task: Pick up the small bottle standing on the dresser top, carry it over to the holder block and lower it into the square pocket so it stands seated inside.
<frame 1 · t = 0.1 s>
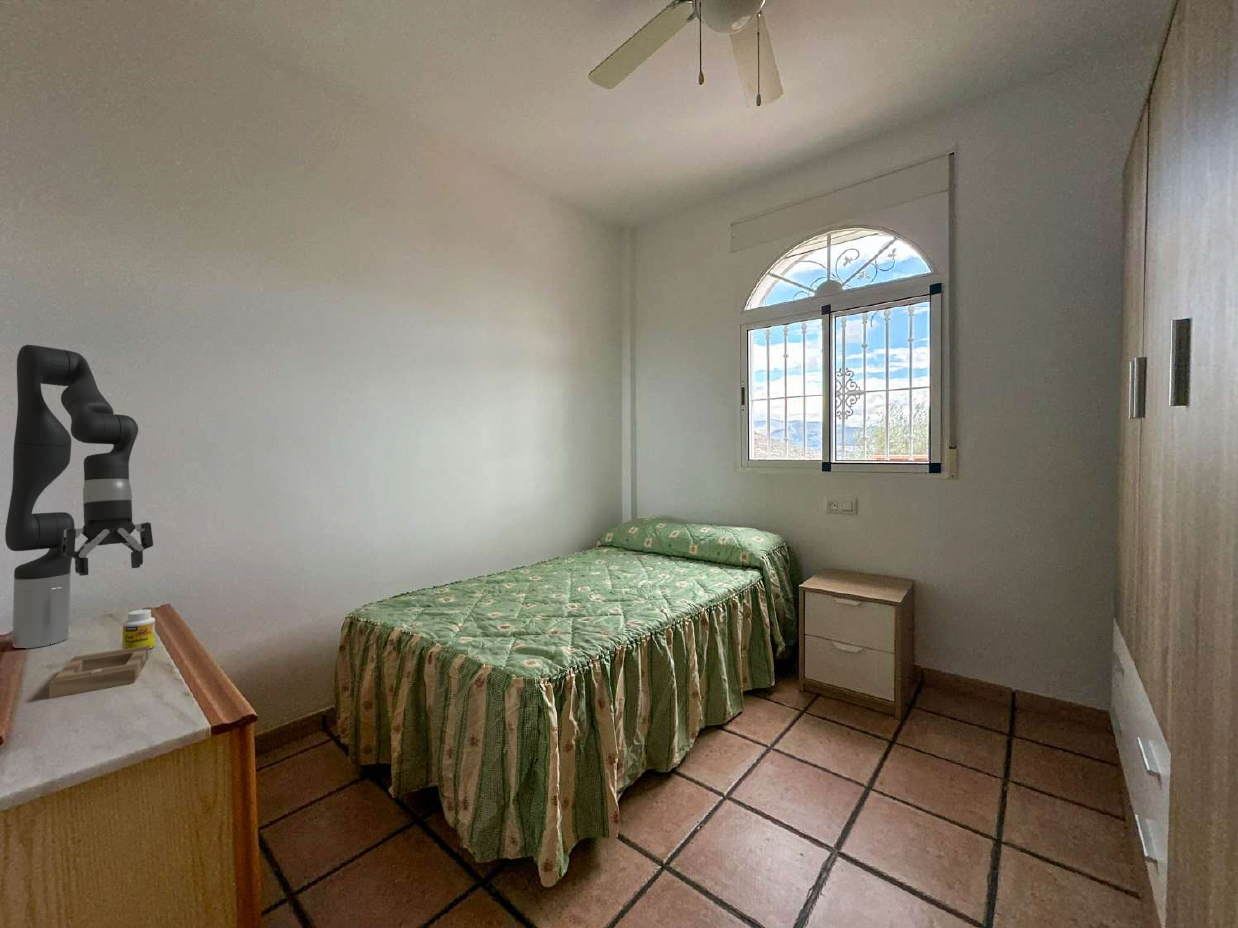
hand: (110, 571, 107), 22 cm above the dresser top, tool pointing down, fingers open, 8 cm apart
holder block: (103, 675, 104), on the dresser top
supplement bottle: (138, 653, 117), on the dresser top
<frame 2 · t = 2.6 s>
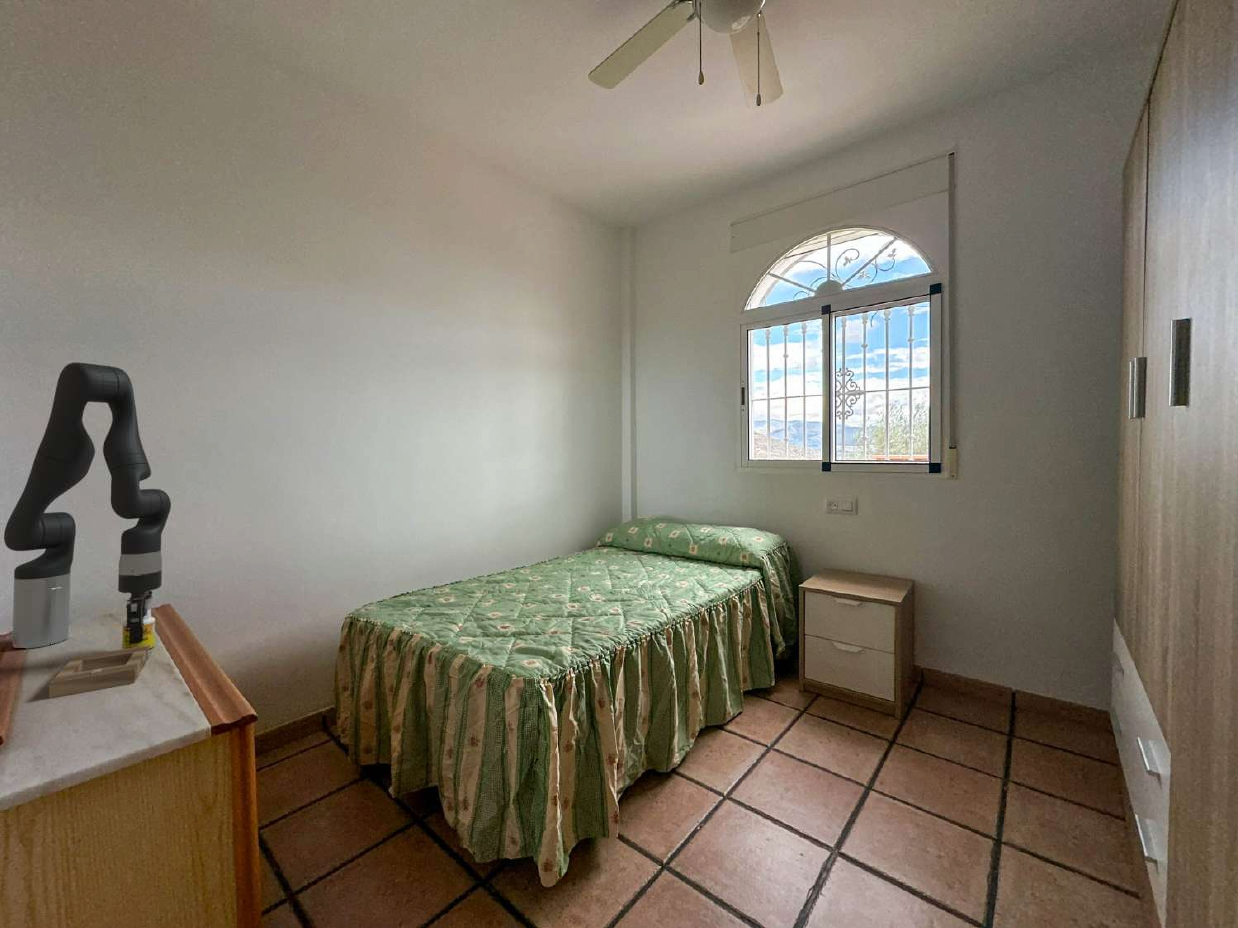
hand: (138, 638, 117), 4 cm above the dresser top, tool pointing down, fingers closed on supplement bottle, 5 cm apart
supplement bottle: (138, 653, 117), on the dresser top, touching gripper
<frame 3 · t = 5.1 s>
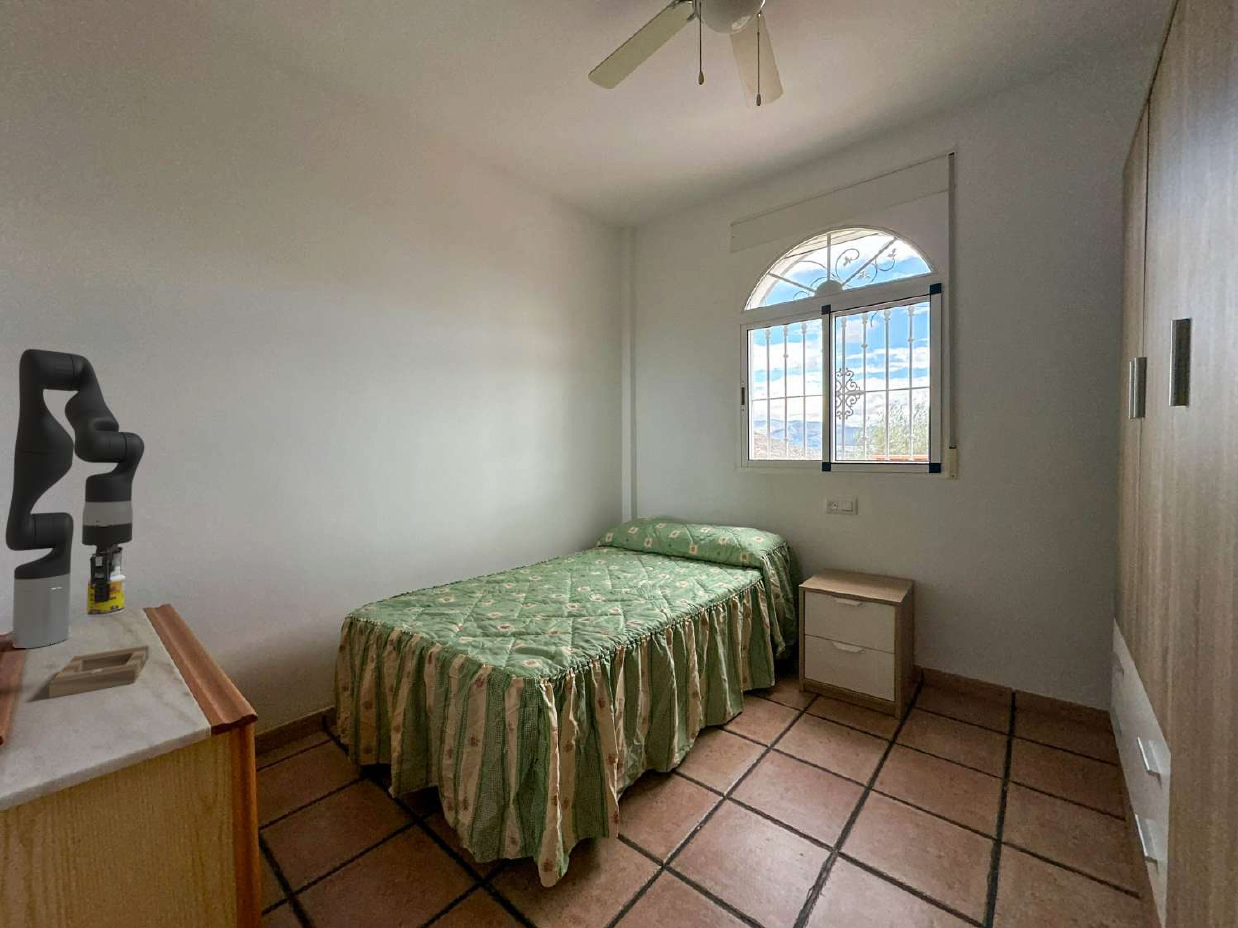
hand: (105, 598, 104), 17 cm above the dresser top, tool pointing down, fingers closed on supplement bottle, 5 cm apart
supplement bottle: (105, 615, 104), point 13 cm above the dresser top, touching gripper
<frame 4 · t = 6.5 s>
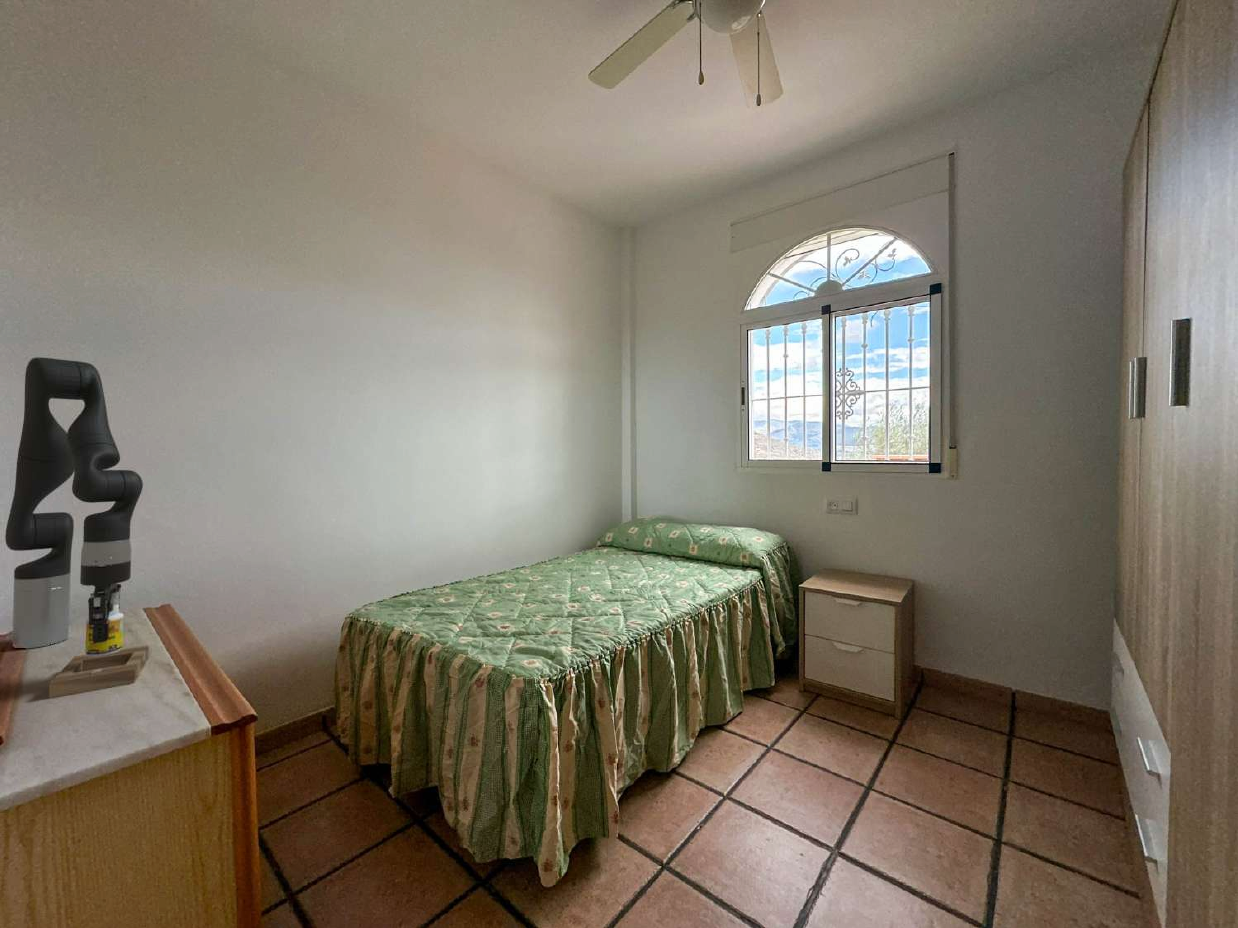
hand: (104, 637, 104), 9 cm above the dresser top, tool pointing down, fingers closed on supplement bottle, 5 cm apart
supplement bottle: (104, 654, 104), point 5 cm above the dresser top, touching gripper
when the fingers open (5 cm above the dresser top, at t = 7.7 s): supplement bottle drops 1 cm, resting in holder block.
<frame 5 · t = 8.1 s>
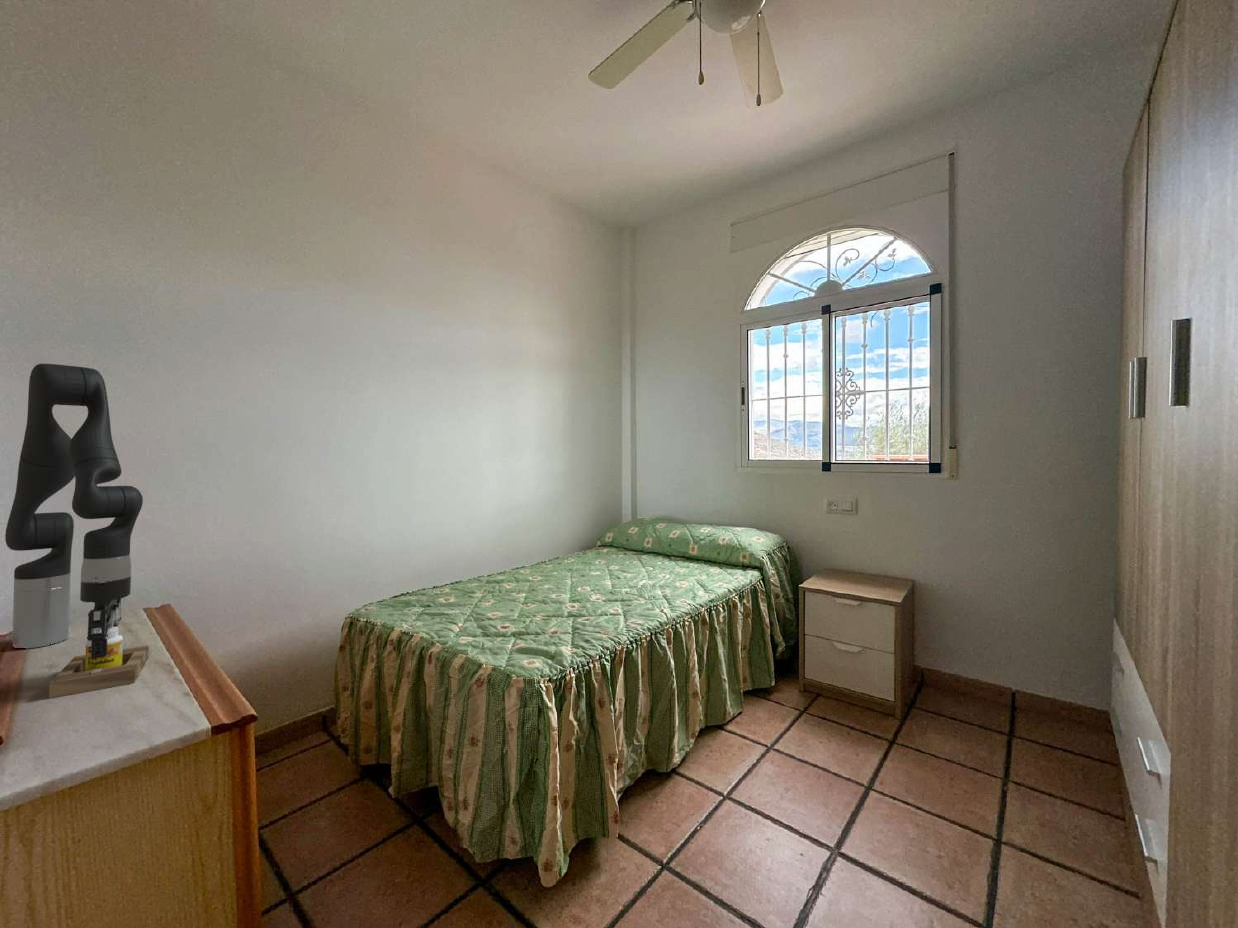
hand: (104, 650, 104), 6 cm above the dresser top, tool pointing down, fingers open, 8 cm apart
supplement bottle: (103, 676, 104), resting in holder block
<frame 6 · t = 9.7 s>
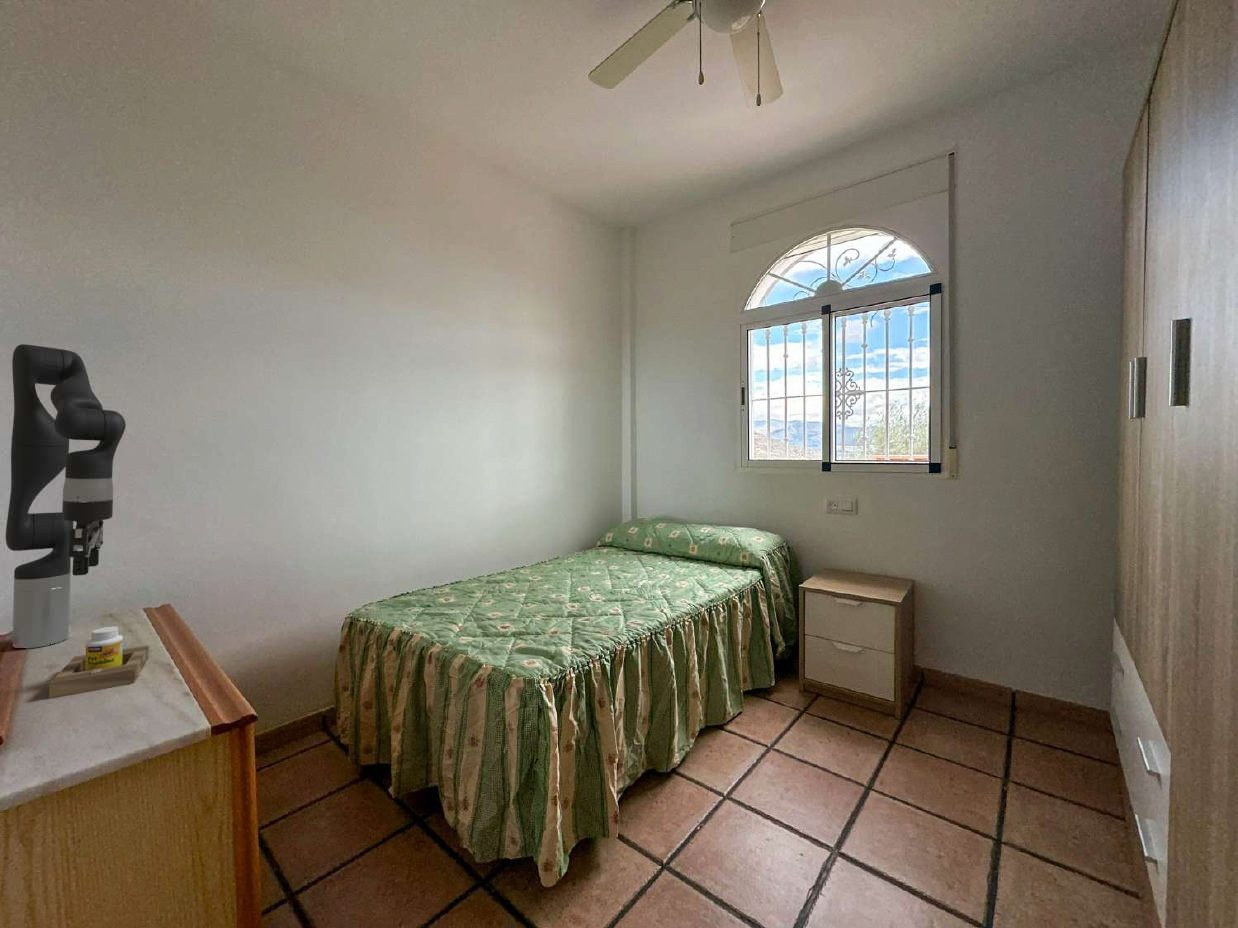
hand: (85, 570, 106), 23 cm above the dresser top, tool pointing down, fingers open, 8 cm apart
nothing on the dresser top moved.
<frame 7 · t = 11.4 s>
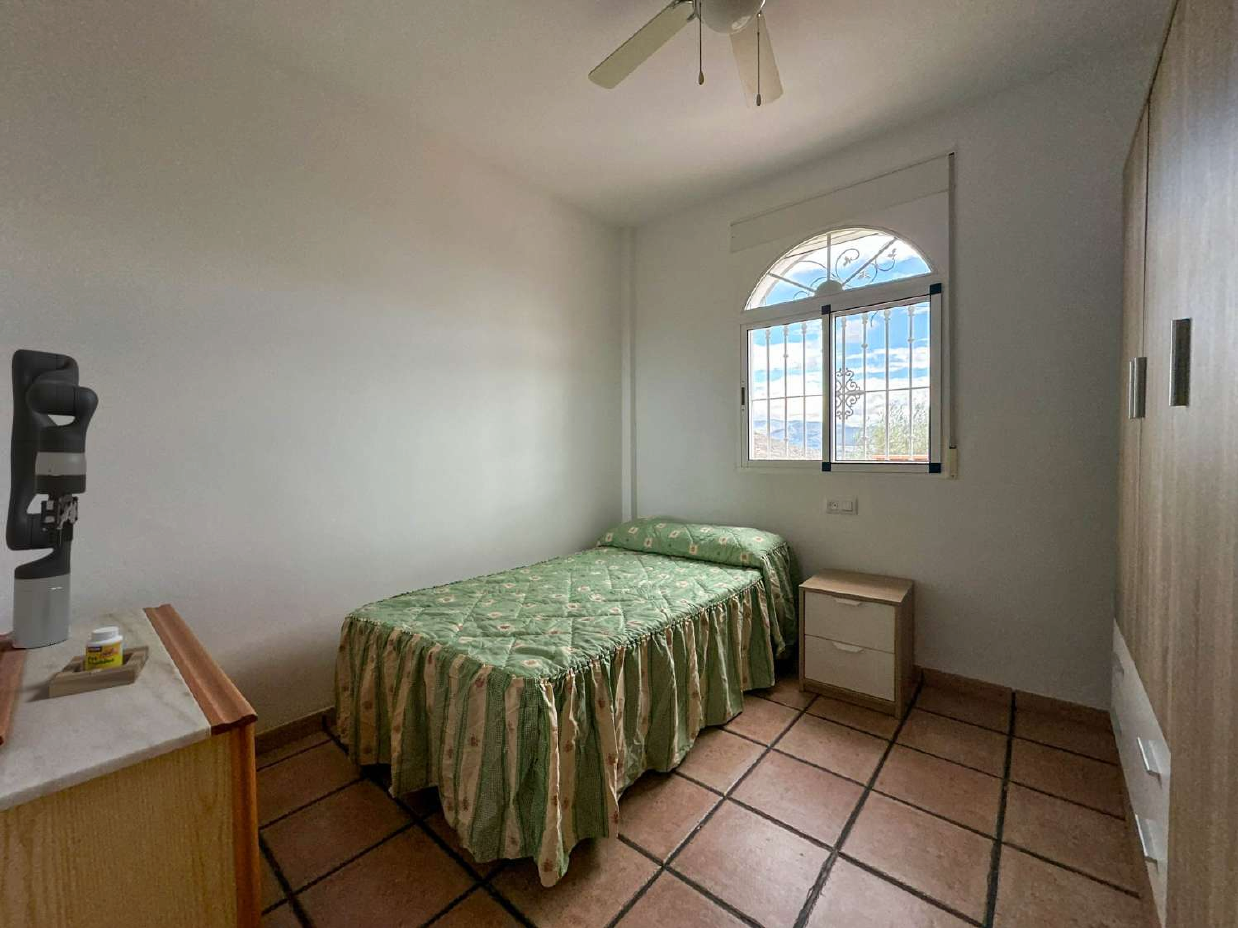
hand: (59, 544, 107), 28 cm above the dresser top, tool pointing down, fingers open, 8 cm apart
nothing on the dresser top moved.
at the end: supplement bottle 0.2 cm off-centre on the holder block, point 0.0 cm above the holder block's base; supplement bottle tilted 0°; the gripper is holding nothing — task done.
